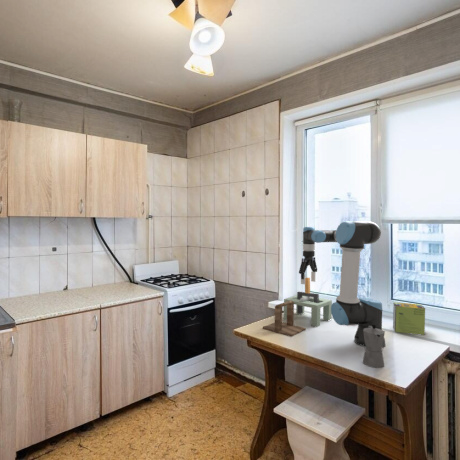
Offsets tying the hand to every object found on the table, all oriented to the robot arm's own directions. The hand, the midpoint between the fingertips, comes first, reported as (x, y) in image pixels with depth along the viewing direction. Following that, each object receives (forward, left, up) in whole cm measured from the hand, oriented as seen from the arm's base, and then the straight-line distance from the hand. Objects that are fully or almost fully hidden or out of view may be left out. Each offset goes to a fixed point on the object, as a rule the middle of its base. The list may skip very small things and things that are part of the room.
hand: (308, 282), depth 217 cm
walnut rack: (-28, 0, -24) cm, 37 cm away
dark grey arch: (0, 0, -9) cm, 9 cm away
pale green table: (0, 0, -24) cm, 24 cm away
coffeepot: (-40, -55, -24) cm, 72 cm away
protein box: (+21, -55, -25) cm, 64 cm away
